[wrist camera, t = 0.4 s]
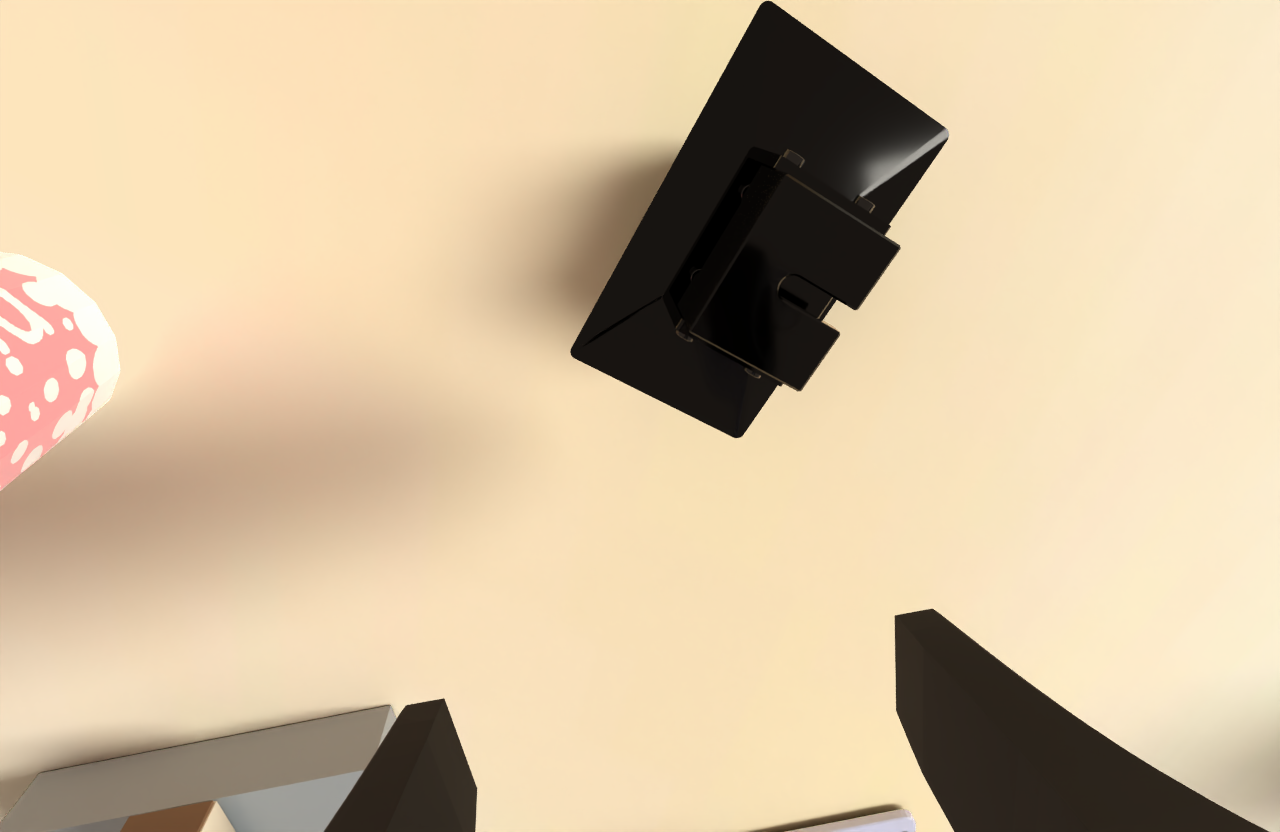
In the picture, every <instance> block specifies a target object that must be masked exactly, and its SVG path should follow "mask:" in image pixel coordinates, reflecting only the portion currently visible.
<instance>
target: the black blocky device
mask: <svg viewBox="0 0 1280 832" xmlns="http://www.w3.org/2000/svg"><path fill="white" fill-rule="evenodd" d="M948 137H949V132H948V130H947V129H946V128H945V127H944V126H942V125H941V124H939V123H938V122H937V121H935V120H934V119H933V118H931V117H930V116H928V115H927V114H926V113H924V112H923V111H922V110H920V109H919V108H917V107H916V106H915V105H913V104H912V103H911V102H909V101H908V100H906V99H905V98H904V97H902V96H901V95H900V94H898V93H897V92H895V91H894V90H893V89H891V88H890V87H889V86H887V85H886V84H884V83H883V82H882V81H880V80H879V79H878V78H876V77H875V76H873V75H872V74H871V73H869V72H868V71H867V70H865V69H864V68H862V67H861V66H860V65H858V64H857V63H856V62H854V61H853V60H851V59H850V58H849V57H847V56H846V55H845V54H843V53H842V52H840V51H839V50H838V49H836V48H835V47H834V46H832V45H831V44H829V43H828V42H827V41H825V40H824V39H823V38H821V37H820V36H818V35H817V34H816V33H814V32H813V31H812V30H810V29H809V28H807V27H806V26H805V25H803V24H802V23H801V22H799V21H798V20H796V19H795V18H794V17H792V16H791V15H790V14H788V13H787V12H785V11H784V10H783V9H781V8H780V7H779V6H777V5H776V4H774V3H773V2H771V1H765V2H763V3H762V4H761V5H760V7H759V8H758V10H757V12H756V14H755V16H754V17H753V19H752V21H751V23H750V25H749V27H748V28H747V30H746V32H745V34H744V36H743V37H742V39H741V41H740V43H739V45H738V47H737V48H736V50H735V52H734V54H733V56H732V57H731V59H730V61H729V63H728V65H727V67H726V68H725V70H724V72H723V74H722V76H721V77H720V79H719V81H718V83H717V85H716V86H715V88H714V90H713V92H712V94H711V96H710V97H709V99H708V101H707V103H706V105H705V106H704V108H703V110H702V112H701V114H700V116H699V117H698V119H697V121H696V123H695V125H694V126H693V128H692V130H691V132H690V134H689V136H688V137H687V139H686V141H685V143H684V145H683V146H682V148H681V150H680V152H679V154H678V156H677V157H676V159H675V161H674V163H673V165H672V166H671V168H670V170H669V172H668V174H667V175H666V177H665V179H664V181H663V183H662V185H661V186H660V188H659V190H658V192H657V194H656V195H655V197H654V199H653V201H652V203H651V205H650V206H649V208H648V210H647V212H646V214H645V215H644V217H643V219H642V221H641V223H640V225H639V226H638V228H637V230H636V232H635V234H634V235H633V237H632V239H631V241H630V243H629V245H628V246H627V248H626V250H625V252H624V254H623V255H622V257H621V259H620V261H619V263H618V264H617V266H616V268H615V270H614V272H613V274H612V275H611V277H610V279H609V281H608V283H607V284H606V286H605V288H604V290H603V292H602V294H601V295H600V297H599V299H598V301H597V303H596V304H595V306H594V308H593V310H592V312H591V314H590V315H589V317H588V319H587V321H586V323H585V324H584V326H583V328H582V330H581V332H580V334H579V335H578V337H577V339H576V341H575V343H574V344H573V346H572V348H571V355H572V357H573V358H575V359H577V360H579V361H581V362H583V363H585V364H587V365H589V366H591V367H593V368H595V369H597V370H599V371H601V372H603V373H605V374H607V375H609V376H611V377H613V378H615V379H617V380H619V381H621V382H623V383H625V384H627V385H629V386H631V387H633V388H635V389H637V390H639V391H641V392H643V393H645V394H647V395H649V396H651V397H653V398H655V399H657V400H659V401H661V402H663V403H665V404H667V405H669V406H671V407H674V408H676V409H678V410H680V411H682V412H684V413H686V414H688V415H690V416H692V417H694V418H696V419H698V420H700V421H702V422H704V423H706V424H708V425H710V426H712V427H714V428H716V429H718V430H720V431H722V432H724V433H726V434H728V435H730V436H732V437H734V438H740V437H741V436H743V434H744V433H745V432H746V430H747V429H748V427H749V426H750V424H751V423H752V421H753V420H754V419H755V417H756V416H757V414H758V413H759V411H760V410H761V409H762V407H763V406H764V404H765V403H766V401H767V400H768V398H769V397H770V396H771V394H772V393H773V391H774V390H775V388H776V387H777V385H779V386H782V385H783V384H785V385H787V386H789V387H791V388H793V389H795V390H796V391H801V390H802V389H803V388H804V386H805V385H806V383H807V382H808V380H809V379H810V377H811V376H812V375H813V373H814V372H815V370H816V369H817V367H818V366H819V365H820V363H821V362H822V360H823V359H824V357H825V356H826V355H827V353H828V352H829V350H830V349H831V347H832V346H833V345H834V343H835V342H836V340H837V339H838V337H839V336H840V332H839V331H838V330H837V329H836V328H834V327H833V326H832V325H830V324H828V323H826V322H825V321H823V319H824V318H825V316H826V315H827V313H828V312H829V310H830V309H831V307H832V306H833V305H834V303H835V302H836V300H838V301H840V302H842V303H843V304H845V305H847V306H848V307H850V308H852V309H853V310H858V309H859V307H860V306H861V304H862V303H863V302H864V300H865V299H866V297H867V296H868V294H869V293H870V292H871V290H872V289H873V287H874V286H875V284H876V283H877V282H878V280H879V279H880V277H881V276H882V274H883V273H884V272H885V270H886V269H887V267H888V266H889V264H890V263H891V262H892V260H893V259H894V257H895V256H896V254H897V253H898V252H899V250H900V249H901V248H900V245H898V244H897V243H895V242H894V241H892V240H890V239H889V238H887V237H886V236H885V235H886V233H887V232H888V230H889V229H890V227H891V226H890V225H889V224H890V222H891V221H892V219H893V218H894V217H895V215H896V214H897V212H898V211H899V209H900V208H901V206H902V205H903V204H904V202H905V201H906V199H907V198H908V196H909V195H910V193H911V192H912V191H913V189H914V188H915V186H916V185H917V183H918V182H919V180H920V179H921V178H922V176H923V175H924V173H925V172H926V170H927V169H928V167H929V166H930V165H931V163H932V162H933V160H934V159H935V157H936V156H937V155H938V153H939V152H940V150H941V149H942V147H943V146H944V144H945V143H946V142H947V140H948Z"/></svg>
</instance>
